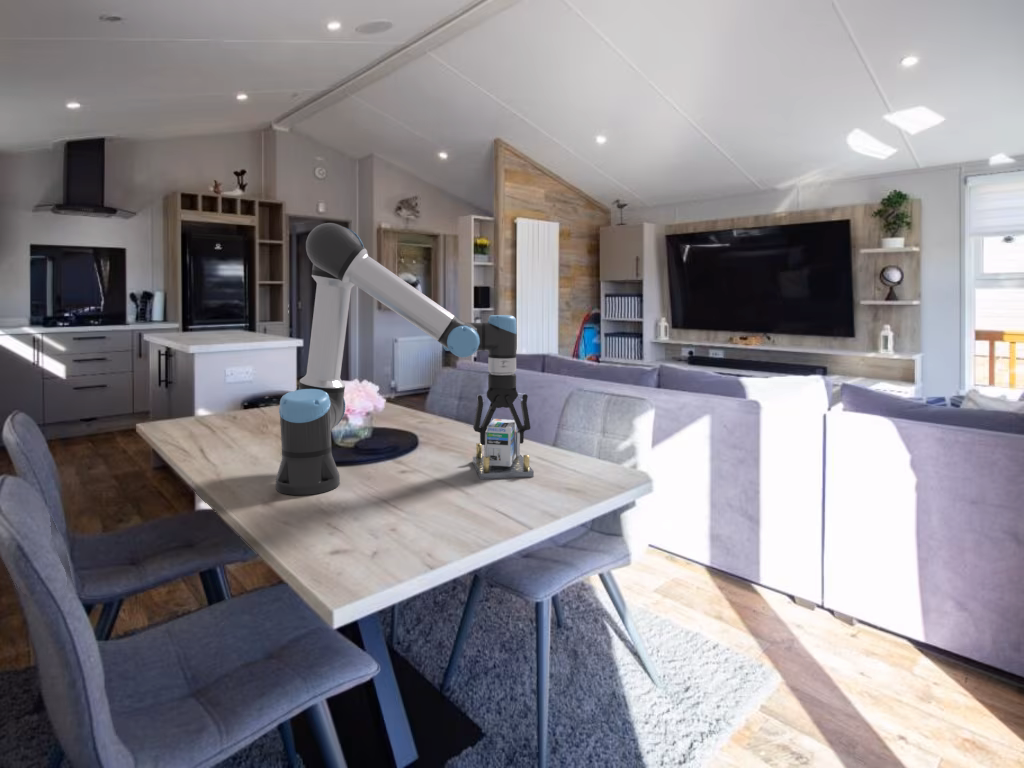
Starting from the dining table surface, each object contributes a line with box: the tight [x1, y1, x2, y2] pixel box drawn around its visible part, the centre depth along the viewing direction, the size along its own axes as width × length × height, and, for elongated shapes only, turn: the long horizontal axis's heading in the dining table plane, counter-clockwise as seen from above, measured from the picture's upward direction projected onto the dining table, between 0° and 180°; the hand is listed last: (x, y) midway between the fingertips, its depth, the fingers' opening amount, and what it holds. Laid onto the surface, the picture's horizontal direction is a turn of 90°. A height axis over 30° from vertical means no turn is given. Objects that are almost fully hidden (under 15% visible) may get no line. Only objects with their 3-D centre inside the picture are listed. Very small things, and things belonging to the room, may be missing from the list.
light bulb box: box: [486, 418, 517, 467], centre depth 172 cm, size 11×7×11 cm, turn 172°
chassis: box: [472, 442, 534, 480], centre depth 173 cm, size 14×17×6 cm
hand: (501, 455), depth 173 cm, fingers closed on light bulb box, 8 cm apart
